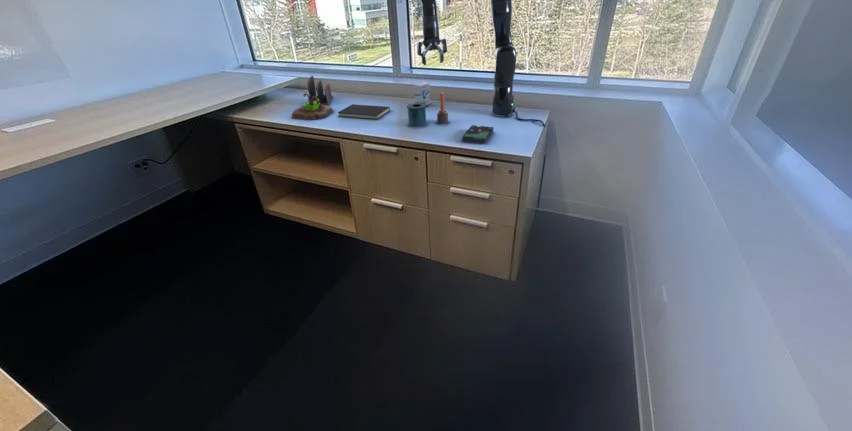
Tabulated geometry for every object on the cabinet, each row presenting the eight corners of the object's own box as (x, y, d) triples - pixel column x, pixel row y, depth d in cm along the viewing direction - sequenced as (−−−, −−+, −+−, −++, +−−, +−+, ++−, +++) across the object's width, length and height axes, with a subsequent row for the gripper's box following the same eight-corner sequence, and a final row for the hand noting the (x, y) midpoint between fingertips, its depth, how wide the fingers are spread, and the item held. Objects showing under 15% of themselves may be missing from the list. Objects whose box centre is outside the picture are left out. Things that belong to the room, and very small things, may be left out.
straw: (445, 121, 185) (444, 92, 177) (443, 122, 184) (442, 93, 176) (442, 121, 186) (441, 92, 178) (440, 122, 184) (439, 93, 177)
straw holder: (450, 122, 185) (450, 111, 182) (444, 125, 182) (443, 114, 179) (441, 120, 188) (441, 109, 185) (435, 123, 184) (435, 112, 182)
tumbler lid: (430, 105, 180) (430, 104, 180) (418, 110, 174) (418, 109, 173) (415, 102, 185) (414, 101, 184) (403, 107, 178) (402, 106, 178)
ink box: (422, 107, 208) (421, 85, 202) (414, 106, 211) (413, 84, 204) (430, 103, 214) (429, 82, 208) (423, 102, 217) (422, 81, 210)
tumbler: (429, 123, 185) (429, 105, 180) (419, 129, 179) (418, 110, 174) (416, 121, 189) (415, 103, 184) (405, 126, 183) (403, 107, 178)
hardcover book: (377, 119, 193) (376, 115, 192) (338, 116, 201) (337, 112, 199) (390, 110, 206) (389, 106, 205) (353, 108, 213) (352, 103, 212)
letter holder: (311, 106, 219) (306, 81, 212) (315, 97, 236) (311, 74, 229) (328, 105, 220) (324, 80, 213) (331, 96, 237) (327, 73, 229)
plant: (304, 108, 216) (300, 88, 211) (336, 109, 213) (333, 88, 207) (287, 119, 200) (282, 98, 194) (321, 120, 196) (317, 98, 190)
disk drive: (471, 130, 174) (462, 141, 163) (471, 124, 173) (462, 135, 161) (493, 132, 171) (485, 144, 159) (493, 126, 169) (486, 137, 158)
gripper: (418, 28, 169) (421, 66, 177) (448, 25, 172) (449, 62, 180) (413, 27, 175) (416, 64, 183) (442, 24, 179) (444, 61, 187)
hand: (433, 63), depth 182 cm, fingers open, 8 cm apart
